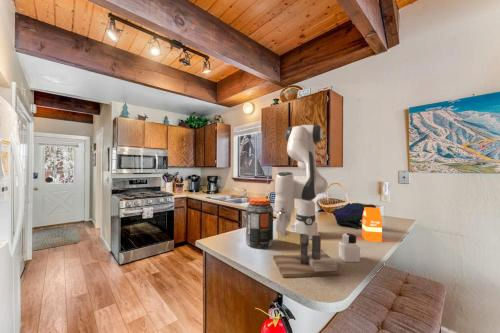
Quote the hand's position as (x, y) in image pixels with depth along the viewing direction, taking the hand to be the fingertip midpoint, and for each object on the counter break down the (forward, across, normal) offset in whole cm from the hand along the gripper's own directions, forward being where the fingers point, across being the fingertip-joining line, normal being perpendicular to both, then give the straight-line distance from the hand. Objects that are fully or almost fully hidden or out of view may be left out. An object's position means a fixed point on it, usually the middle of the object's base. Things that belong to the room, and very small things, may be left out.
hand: (283, 237), depth 99 cm
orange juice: (+11, +53, -47) cm, 72 cm away
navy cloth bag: (+10, +81, -41) cm, 91 cm away
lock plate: (+12, +1, -9) cm, 15 cm away
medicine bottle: (+12, +16, -30) cm, 36 cm away
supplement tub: (+12, +21, +17) cm, 29 cm away
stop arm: (+2, +2, -4) cm, 5 cm away
